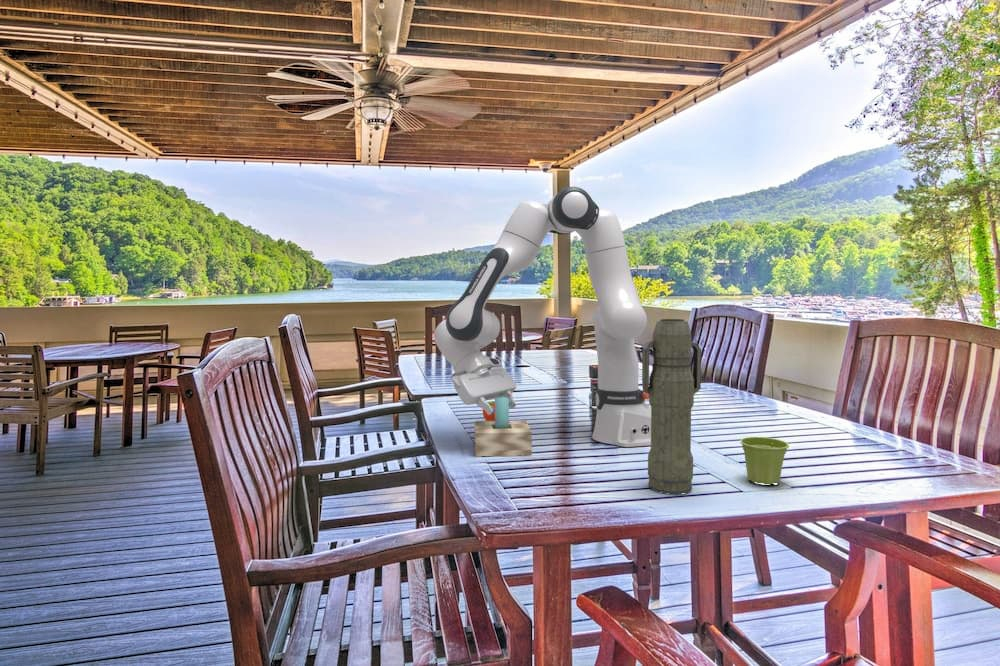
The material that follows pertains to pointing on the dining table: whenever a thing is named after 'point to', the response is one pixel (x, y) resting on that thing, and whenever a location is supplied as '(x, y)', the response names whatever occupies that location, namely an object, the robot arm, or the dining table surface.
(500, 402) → the teal pin
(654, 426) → the thermos
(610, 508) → the dining table surface
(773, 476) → the plant pot
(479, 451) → the maple block
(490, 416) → the clementine
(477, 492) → the dining table surface
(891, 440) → the dining table surface
